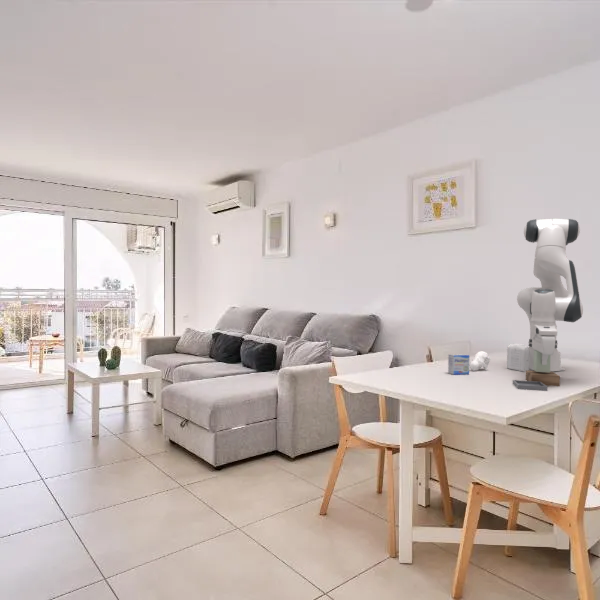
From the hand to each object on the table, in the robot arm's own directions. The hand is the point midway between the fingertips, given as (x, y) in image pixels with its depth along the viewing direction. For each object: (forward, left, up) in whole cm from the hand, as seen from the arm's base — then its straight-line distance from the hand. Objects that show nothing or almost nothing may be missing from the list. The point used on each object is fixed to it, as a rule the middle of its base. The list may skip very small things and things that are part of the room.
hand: (541, 363), depth 184 cm
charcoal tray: (+11, -7, -8) cm, 15 cm away
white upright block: (-31, -3, -8) cm, 32 cm away
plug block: (0, 0, -3) cm, 3 cm away
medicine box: (-11, -31, -8) cm, 34 cm away
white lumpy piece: (-24, -21, -8) cm, 33 cm away
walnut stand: (0, 0, -8) cm, 8 cm away
